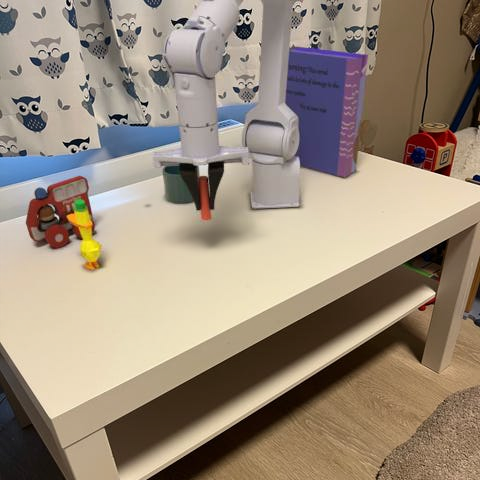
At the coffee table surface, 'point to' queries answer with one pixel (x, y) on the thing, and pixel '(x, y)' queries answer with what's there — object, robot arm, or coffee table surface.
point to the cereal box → (327, 107)
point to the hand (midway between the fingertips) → (205, 207)
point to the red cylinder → (204, 197)
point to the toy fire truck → (57, 211)
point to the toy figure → (85, 234)
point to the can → (176, 185)
